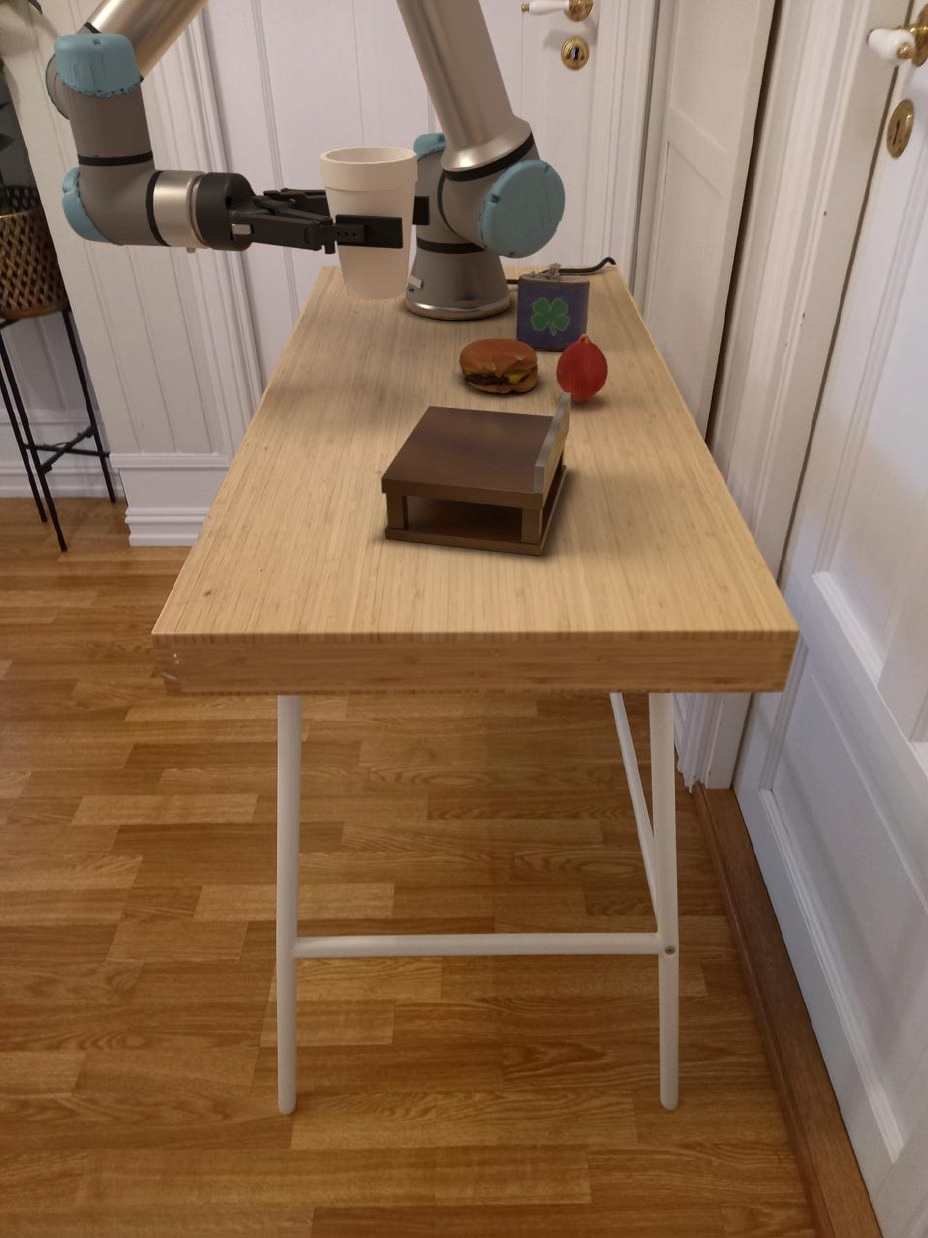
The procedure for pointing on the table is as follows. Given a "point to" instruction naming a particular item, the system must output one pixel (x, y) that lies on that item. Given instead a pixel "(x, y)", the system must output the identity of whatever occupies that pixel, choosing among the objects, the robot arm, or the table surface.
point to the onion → (582, 369)
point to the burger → (499, 365)
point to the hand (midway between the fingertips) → (415, 221)
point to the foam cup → (372, 213)
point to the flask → (551, 309)
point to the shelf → (478, 479)
